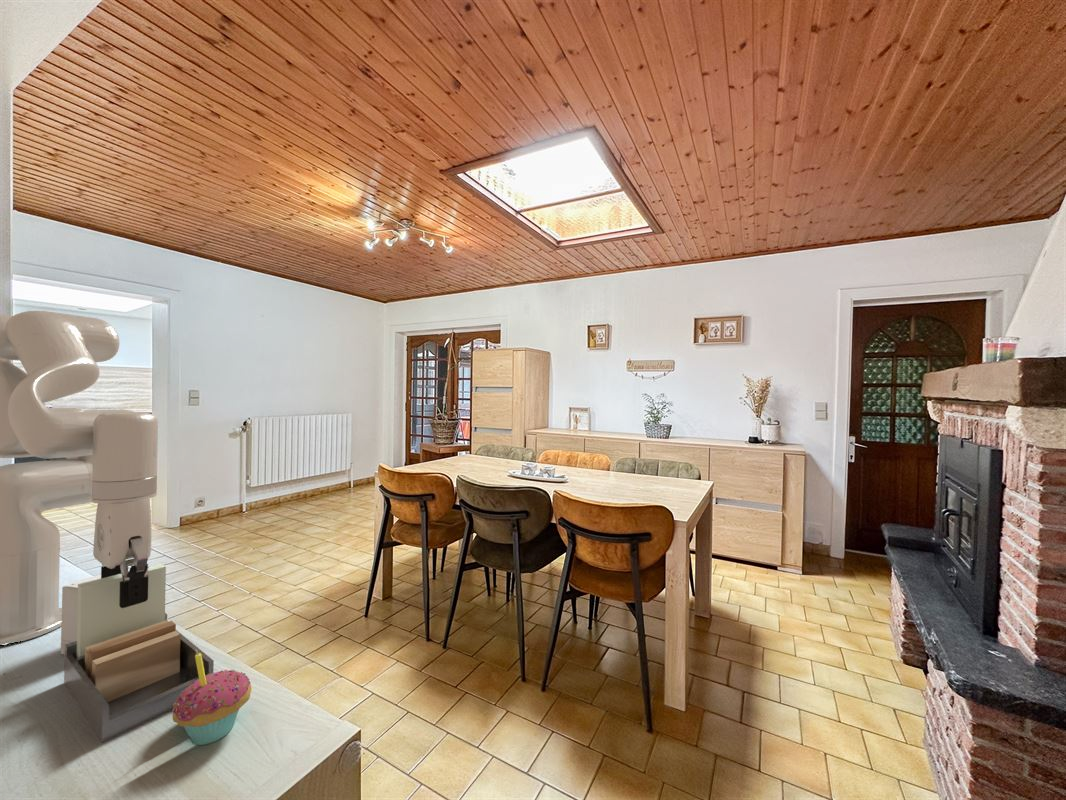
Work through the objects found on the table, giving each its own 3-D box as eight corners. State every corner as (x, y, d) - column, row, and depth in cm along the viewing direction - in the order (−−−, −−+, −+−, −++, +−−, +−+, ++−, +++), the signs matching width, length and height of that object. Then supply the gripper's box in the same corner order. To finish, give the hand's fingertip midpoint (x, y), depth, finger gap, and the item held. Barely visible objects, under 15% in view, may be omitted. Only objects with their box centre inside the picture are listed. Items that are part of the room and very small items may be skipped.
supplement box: (92, 667, 71) (94, 590, 71) (58, 660, 72) (60, 585, 72) (141, 642, 78) (143, 573, 78) (109, 637, 80) (111, 569, 80)
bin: (63, 690, 65) (64, 644, 65) (164, 652, 75) (164, 612, 75) (101, 752, 54) (102, 696, 54) (212, 697, 64) (213, 651, 64)
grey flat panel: (76, 682, 65) (77, 584, 65) (159, 651, 74) (161, 563, 73) (79, 687, 64) (81, 587, 64) (164, 655, 72) (165, 566, 72)
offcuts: (84, 691, 63) (85, 644, 63) (166, 659, 71) (167, 617, 71) (95, 707, 60) (96, 657, 60) (179, 671, 68) (180, 627, 68)
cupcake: (187, 768, 52) (189, 670, 52) (160, 737, 57) (161, 647, 57) (262, 723, 59) (264, 637, 59) (233, 699, 64) (234, 619, 64)
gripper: (78, 486, 70) (76, 590, 70) (109, 501, 61) (107, 622, 61) (138, 479, 77) (136, 575, 77) (175, 492, 67) (173, 601, 67)
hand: (123, 595), depth 69 cm, fingers open, 9 cm apart
